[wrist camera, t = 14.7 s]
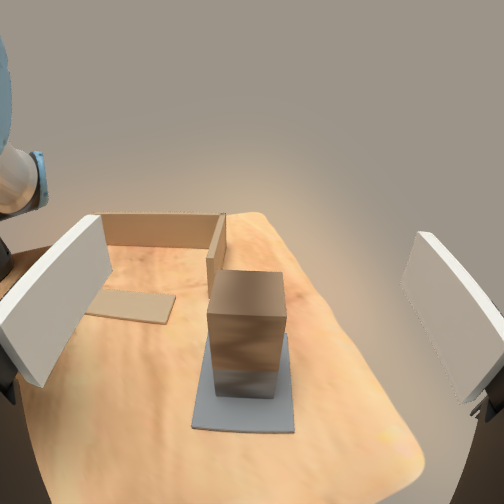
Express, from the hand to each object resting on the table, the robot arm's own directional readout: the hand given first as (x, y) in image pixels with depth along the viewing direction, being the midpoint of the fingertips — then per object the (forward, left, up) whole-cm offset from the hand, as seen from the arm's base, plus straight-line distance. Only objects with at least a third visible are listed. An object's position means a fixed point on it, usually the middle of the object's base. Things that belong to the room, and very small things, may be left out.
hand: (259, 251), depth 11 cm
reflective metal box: (-1, +9, -21) cm, 23 cm away
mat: (-1, +10, -22) cm, 24 cm away
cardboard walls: (-20, +28, -22) cm, 41 cm away
